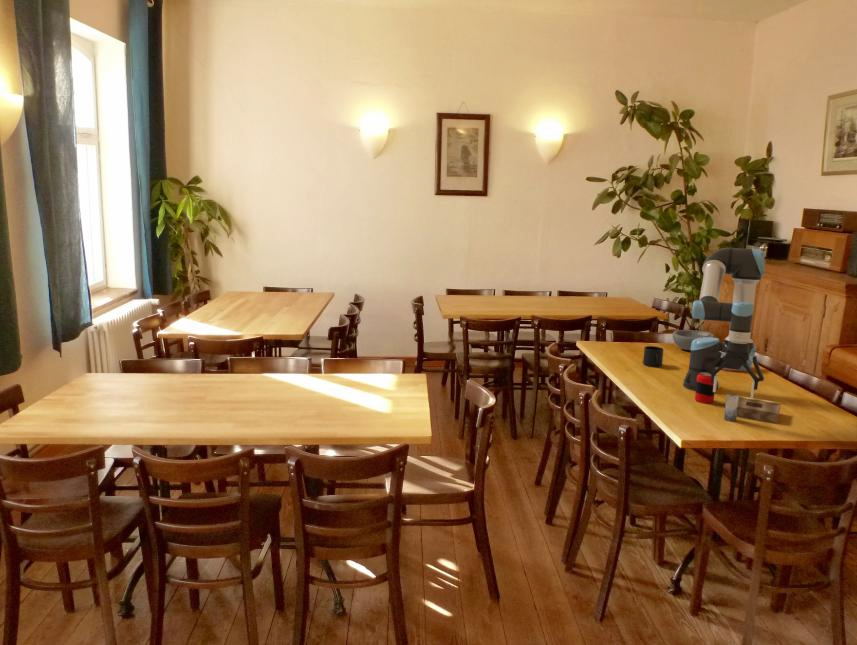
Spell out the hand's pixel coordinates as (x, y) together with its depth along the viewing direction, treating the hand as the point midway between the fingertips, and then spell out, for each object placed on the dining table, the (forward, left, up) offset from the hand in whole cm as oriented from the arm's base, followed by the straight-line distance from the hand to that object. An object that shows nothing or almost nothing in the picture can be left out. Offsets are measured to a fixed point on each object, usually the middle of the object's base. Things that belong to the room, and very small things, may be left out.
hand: (732, 394), depth 259 cm
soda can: (-13, +20, -11) cm, 27 cm away
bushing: (0, 0, -11) cm, 11 cm away
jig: (+7, +13, -11) cm, 18 cm away
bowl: (-36, +120, -11) cm, 126 cm away
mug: (-46, +69, -11) cm, 84 cm away
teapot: (-13, +88, -11) cm, 90 cm away
